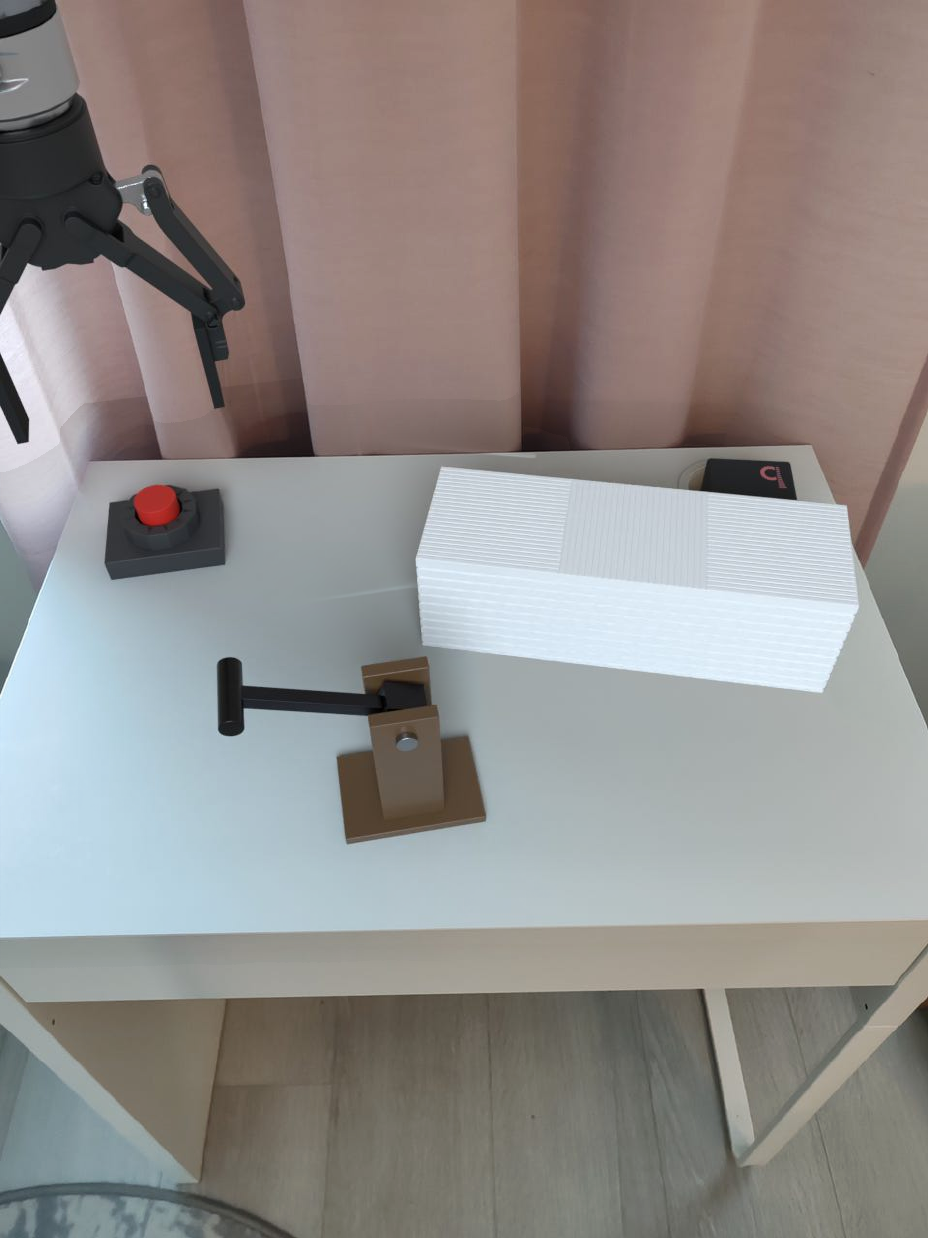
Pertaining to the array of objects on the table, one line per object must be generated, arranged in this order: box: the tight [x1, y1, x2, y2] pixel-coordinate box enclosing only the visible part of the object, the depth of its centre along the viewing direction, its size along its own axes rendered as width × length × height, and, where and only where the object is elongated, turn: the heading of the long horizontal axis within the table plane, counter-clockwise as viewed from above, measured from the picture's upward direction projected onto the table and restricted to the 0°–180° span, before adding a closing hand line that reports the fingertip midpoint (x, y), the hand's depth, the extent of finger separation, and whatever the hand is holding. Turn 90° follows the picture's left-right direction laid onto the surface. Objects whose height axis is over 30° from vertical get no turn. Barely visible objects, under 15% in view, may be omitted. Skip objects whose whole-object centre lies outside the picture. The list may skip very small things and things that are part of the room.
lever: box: [216, 656, 428, 737], centre depth 63 cm, size 13×5×2 cm, turn 100°
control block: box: [104, 484, 226, 581], centre depth 90 cm, size 10×8×4 cm
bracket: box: [336, 655, 487, 845], centre depth 69 cm, size 10×7×13 cm
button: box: [134, 484, 180, 526], centre depth 88 cm, size 4×4×2 cm
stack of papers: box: [415, 465, 860, 694], centre depth 80 cm, size 32×11×11 cm, turn 81°
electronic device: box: [699, 457, 798, 501], centre depth 88 cm, size 7×11×5 cm
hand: (122, 414), depth 71 cm, fingers open, 13 cm apart
